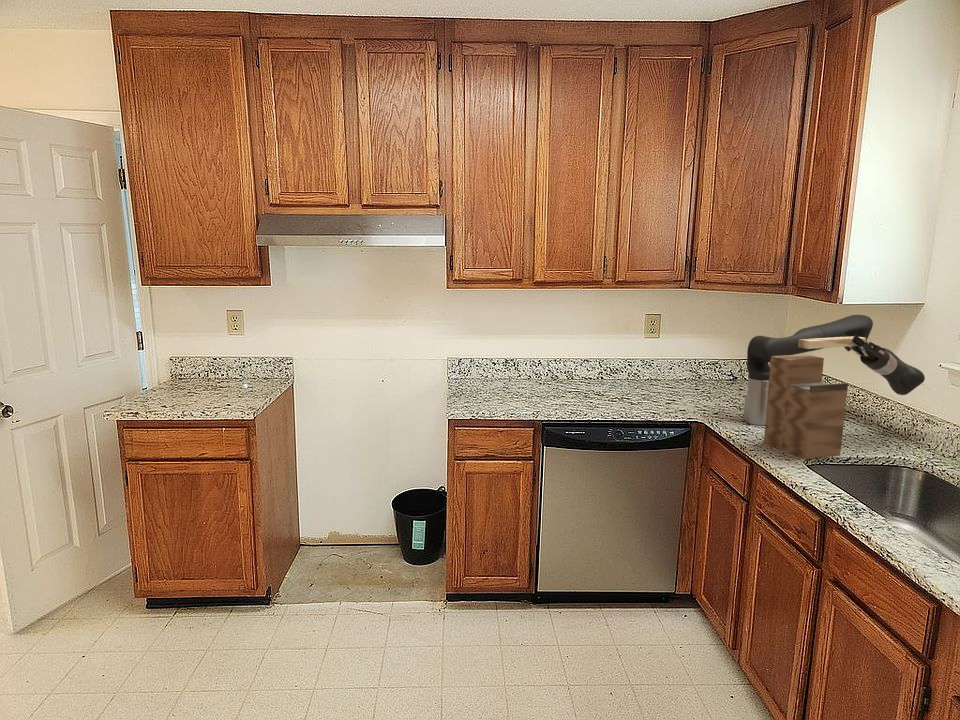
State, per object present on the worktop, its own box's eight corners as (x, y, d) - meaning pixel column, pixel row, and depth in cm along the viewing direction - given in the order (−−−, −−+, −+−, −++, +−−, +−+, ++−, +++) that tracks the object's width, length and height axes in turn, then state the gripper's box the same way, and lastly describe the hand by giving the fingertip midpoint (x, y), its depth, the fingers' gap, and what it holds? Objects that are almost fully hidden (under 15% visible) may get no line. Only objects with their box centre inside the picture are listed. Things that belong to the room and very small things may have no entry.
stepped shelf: (763, 442, 212) (771, 356, 206) (796, 439, 216) (804, 354, 211) (805, 459, 195) (814, 365, 190) (840, 455, 199) (850, 363, 194)
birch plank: (798, 347, 202) (798, 339, 201) (854, 343, 209) (855, 336, 209) (808, 348, 198) (808, 341, 197) (865, 345, 205) (865, 337, 205)
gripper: (865, 347, 218) (835, 324, 212) (903, 353, 204) (872, 329, 198) (855, 366, 218) (824, 344, 212) (893, 373, 204) (861, 350, 198)
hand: (848, 337), depth 205 cm, fingers closed on birch plank, 4 cm apart
